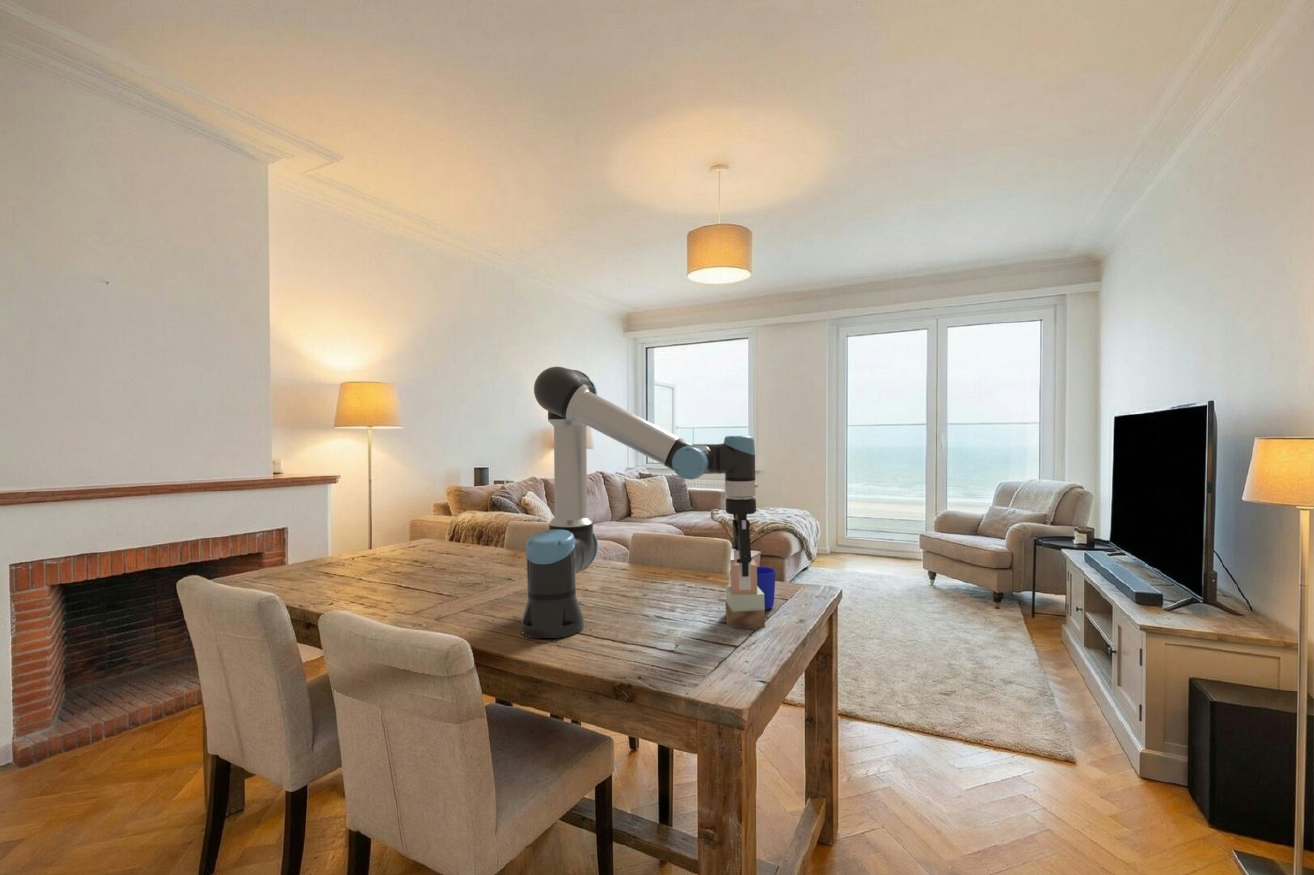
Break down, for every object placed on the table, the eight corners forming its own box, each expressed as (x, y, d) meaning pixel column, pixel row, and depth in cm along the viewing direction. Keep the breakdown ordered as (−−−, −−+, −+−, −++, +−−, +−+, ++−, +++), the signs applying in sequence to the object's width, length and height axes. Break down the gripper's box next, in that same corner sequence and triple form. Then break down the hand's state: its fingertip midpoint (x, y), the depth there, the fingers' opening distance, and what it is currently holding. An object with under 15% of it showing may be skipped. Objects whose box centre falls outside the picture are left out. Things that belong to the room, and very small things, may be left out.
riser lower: (727, 628, 146) (727, 612, 146) (725, 616, 155) (725, 601, 155) (764, 628, 145) (764, 611, 145) (760, 616, 154) (760, 601, 154)
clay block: (732, 593, 147) (732, 565, 147) (730, 587, 153) (730, 560, 153) (757, 593, 147) (756, 565, 147) (754, 587, 153) (753, 559, 153)
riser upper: (732, 611, 146) (731, 595, 146) (726, 602, 154) (726, 586, 154) (764, 610, 146) (764, 594, 146) (757, 601, 154) (756, 585, 154)
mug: (773, 598, 168) (772, 563, 168) (777, 612, 156) (777, 574, 156) (744, 598, 169) (743, 563, 169) (746, 611, 157) (745, 573, 157)
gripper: (762, 503, 137) (764, 595, 137) (750, 491, 162) (751, 569, 162) (729, 504, 137) (731, 596, 138) (722, 492, 162) (723, 570, 163)
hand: (742, 582), depth 150 cm, fingers open, 13 cm apart
